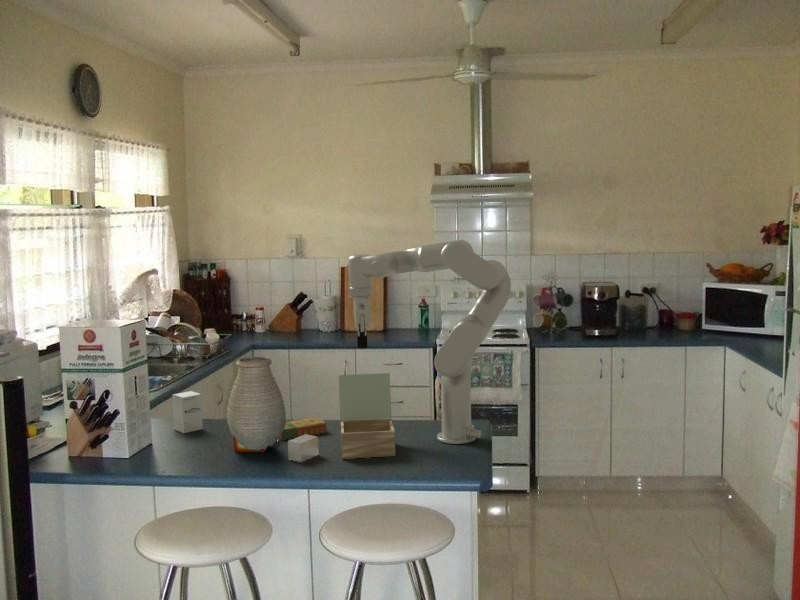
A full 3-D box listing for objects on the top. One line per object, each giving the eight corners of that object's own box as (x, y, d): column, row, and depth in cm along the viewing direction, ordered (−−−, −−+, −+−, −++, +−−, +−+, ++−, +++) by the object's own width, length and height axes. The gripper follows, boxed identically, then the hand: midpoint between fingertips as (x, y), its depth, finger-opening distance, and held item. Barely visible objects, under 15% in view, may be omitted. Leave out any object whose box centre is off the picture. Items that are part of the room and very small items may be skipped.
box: (395, 456, 236) (394, 431, 235) (342, 459, 235) (341, 433, 234) (391, 443, 250) (391, 418, 249) (341, 445, 249) (340, 420, 248)
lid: (389, 373, 253) (389, 373, 253) (338, 375, 251) (338, 375, 252) (391, 418, 249) (391, 418, 250) (340, 420, 248) (340, 420, 249)
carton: (326, 434, 263) (326, 421, 262) (281, 442, 255) (280, 429, 255) (317, 428, 270) (317, 415, 270) (272, 435, 263) (272, 423, 262)
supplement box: (183, 434, 266) (181, 397, 264) (173, 429, 271) (171, 394, 270) (203, 429, 271) (201, 393, 269) (193, 425, 276) (191, 390, 274)
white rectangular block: (318, 455, 240) (318, 436, 239) (301, 463, 233) (300, 443, 232) (306, 453, 242) (305, 434, 242) (288, 460, 236) (287, 440, 235)
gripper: (373, 294, 249) (375, 351, 251) (371, 289, 264) (372, 343, 266) (349, 295, 248) (351, 352, 251) (348, 290, 263) (350, 344, 265)
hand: (362, 347), depth 258 cm, fingers closed
